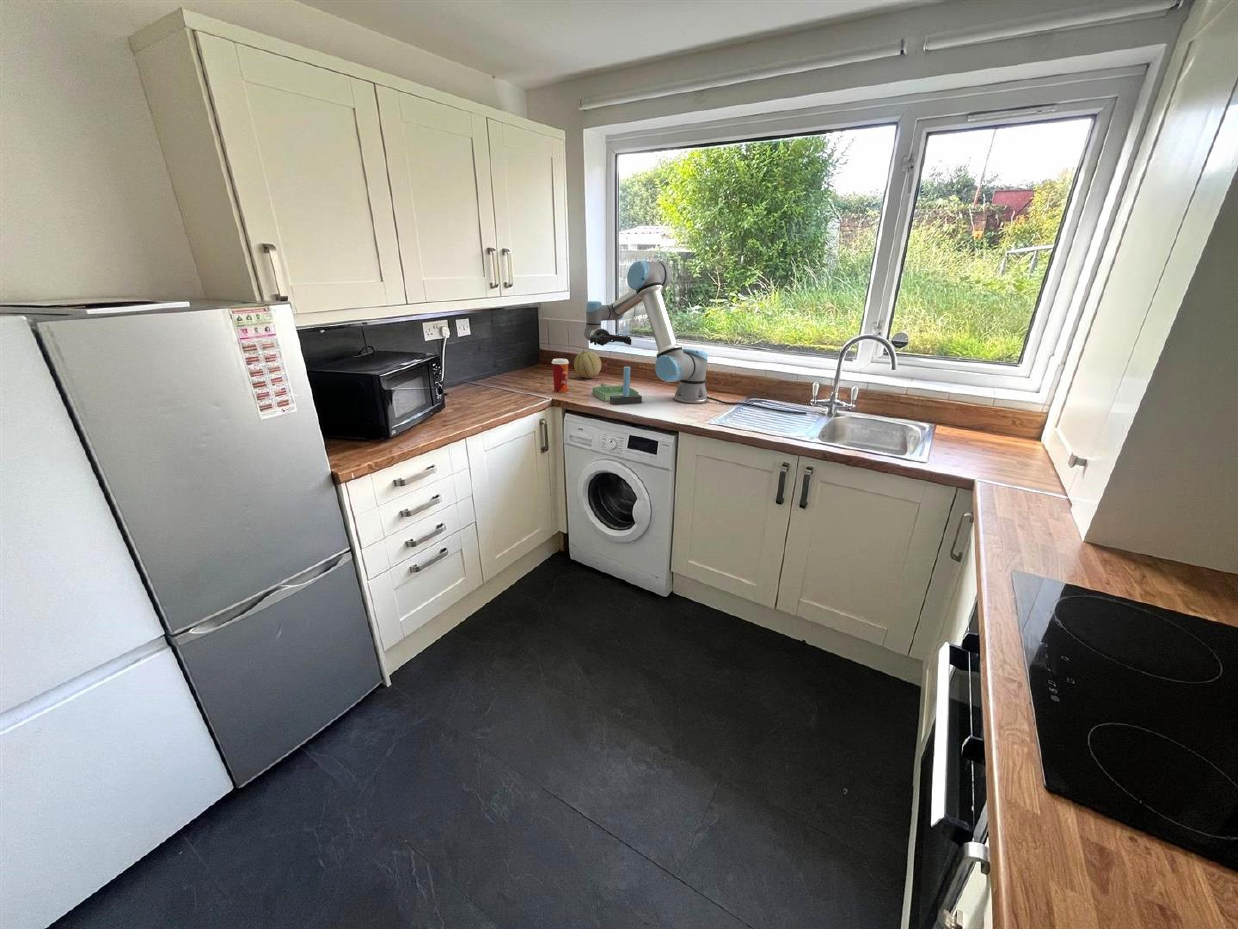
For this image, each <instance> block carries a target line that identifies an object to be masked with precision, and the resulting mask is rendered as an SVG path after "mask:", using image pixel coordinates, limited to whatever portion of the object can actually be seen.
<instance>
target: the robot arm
mask: <svg viewBox="0 0 1238 929" xmlns="http://www.w3.org/2000/svg"><path fill="white" fill-rule="evenodd" d="M672 276H673V275H672V269H671V268H670V266H669V265H667V264H666V263H665V262H663V261H651V260H636V261H634V262H633V263H631V265H630V266H629V268H628V271H627V274H626V280H627V284H628V285H627V286H629V288H630V290H629V291H627V292H625V293H624V294H623V295H622V296H620V297H619V298H617V299H616V300H615V301H613V302H612V303H611V304H603V303H602V301H599V300H598V301H597V300H589V301H587V302H586V306H585V316H586V317H585V318H586V320H585V321H586V322H585V327H584V329H583V336H584V338H585V339H586V340H588V341H589V344H593V345H594V346H598V345H599V346H601V347H603V346H605V345H607V344H608V343H615V342H616V343H623V344H625V345H627V346H632V338H631V336H628V335H618V334H611V333H610V332H609V331H608V330H607V329H604V328H602V321H603V322H604V321H619V320H622V319H623V318H624V316H625V314H626V313H627V312H629V311H630V310H632V309H633V308H635V307H636V306H638V305H639V304H641V303H643V306H644V309H645V312H646V316H647V319H648V322H649V325H650V328H651V331H652V334H653V338H654V341H655V344H656V347H657V353H656V360H655V362H654V363H655V365H654V370H655V373H656V376H657V377H658V378H659V379H660V380H661V381H663V382H665V383H676V382H679V383H678V385H677V388H676V390H675V393H674V400H675V401H676V402H679V403H684V404H693V405H694V404H705V403H707V402H708V400H709V401H714V402H718V403H720V404H723V405H724V404H725V405H741V406H742V405H743V406H747V407H748V406H749V407H753V408H757V409H758V408H759V409H763V410H769V411H773V412H774V411H775V412H780V413H785V414H794V415H807V412H806V411H794V410H786V409H779V408H774V407H769V406H765V405H758V404H753V403H750V402H749V403H748V402H740V401H736V402H735V401H724V400H720V399H718V398H714V397H710V396H708V392H707V387H706V377H707V376H706V375H707V367H708V361H709V360H708V353H707V351H705V350H699V349H691V348H683V346H681V345H679V344H678V343H677V339H676V336H675V332H674V331H673V326H672V323H671V321H670V317H669V314H668V310H667V307H666V304H665V302H664V297H663V295H662V292H663V291H664V290H665V289H667V288H668V287H669V285H670V284H671V281H672V278H673V277H672Z"/></svg>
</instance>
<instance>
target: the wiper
mask: <svg viewBox="0 0 1238 929" xmlns="http://www.w3.org/2000/svg"><path fill="white" fill-rule="evenodd" d="M631 370H632V367H631V366H623V377H622V378H623V379H622V385H623V395H620V396H610V401H609V403H610V404H611V405H612V406H615V405H628V404H629V405H631V404H642V403H643V396H642V395H640V394H639V393H638V394H635V395H629V394H630V388H631Z"/></svg>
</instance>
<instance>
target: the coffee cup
mask: <svg viewBox="0 0 1238 929" xmlns="http://www.w3.org/2000/svg"><path fill="white" fill-rule="evenodd" d="M569 364H570V361H569V359H567V358H553V359H552V361H551V365H552V366H551V367H552V379H553V391H554V392H555V393H566V392H567V391H568V377H569V376H568V374H569Z"/></svg>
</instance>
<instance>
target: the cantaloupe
mask: <svg viewBox="0 0 1238 929" xmlns="http://www.w3.org/2000/svg"><path fill="white" fill-rule="evenodd" d="M573 368H574V371H575V373H576V374H577V375H578V376H579V377H581V378H583V379H593V378H595V377H596V376H598V375H599V373H600V372H601V370H602V360H601V358H600V357H599V355H598V354H597V353H596V352H593V351H591V350H582V352H579V353H577V355H576V357H574V361H573Z"/></svg>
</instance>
